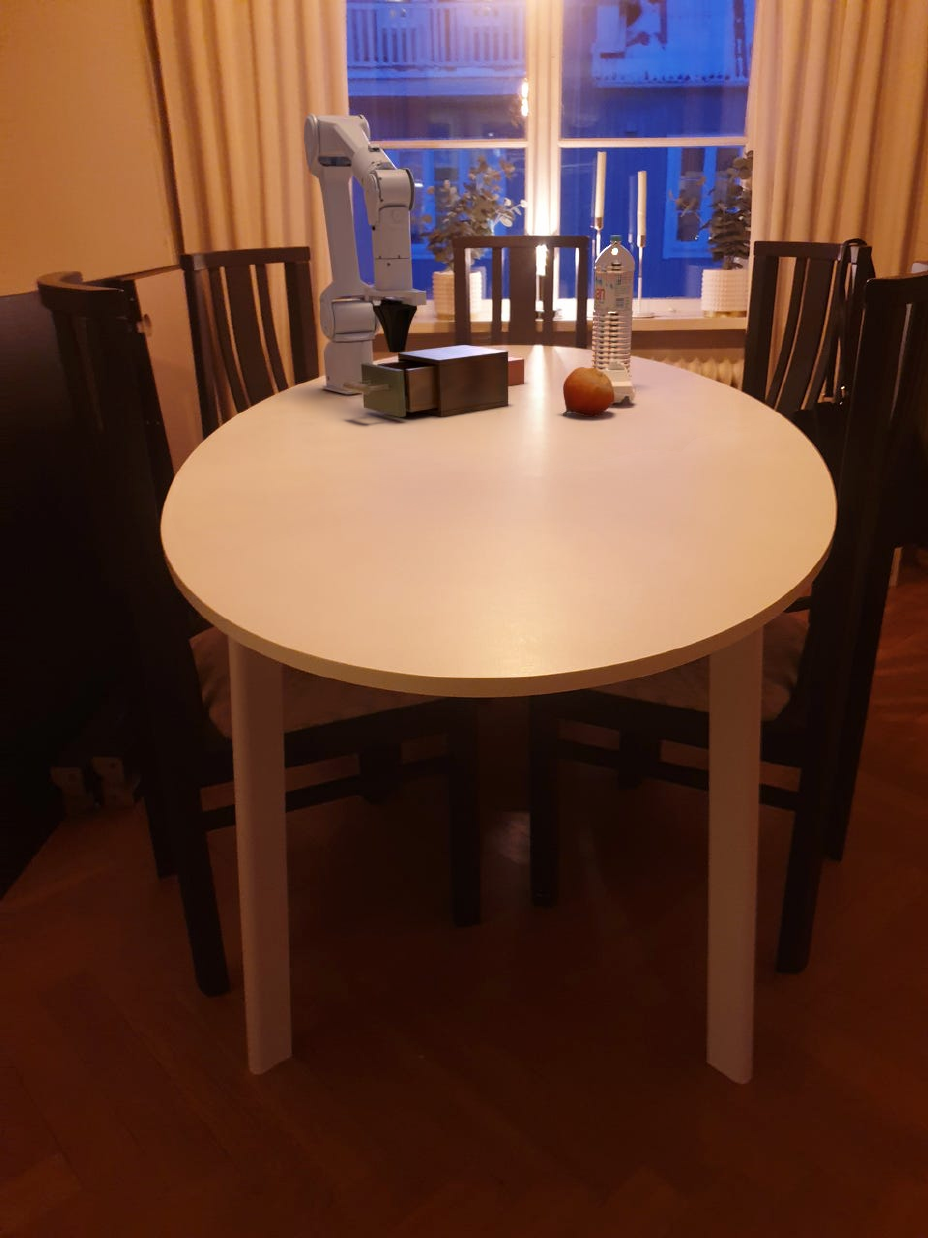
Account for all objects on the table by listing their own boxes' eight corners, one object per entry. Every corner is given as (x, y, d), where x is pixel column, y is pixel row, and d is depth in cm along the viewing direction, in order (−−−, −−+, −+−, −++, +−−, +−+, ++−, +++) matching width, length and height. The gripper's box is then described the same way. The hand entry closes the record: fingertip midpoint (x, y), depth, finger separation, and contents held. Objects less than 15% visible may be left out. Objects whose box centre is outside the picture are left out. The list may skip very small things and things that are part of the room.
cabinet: (441, 416, 140) (439, 359, 137) (400, 406, 149) (397, 352, 145) (508, 405, 148) (508, 351, 144) (465, 396, 156) (464, 344, 153)
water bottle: (590, 383, 165) (595, 235, 155) (628, 383, 164) (635, 234, 154) (590, 390, 159) (595, 236, 148) (629, 390, 158) (637, 235, 148)
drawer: (373, 421, 134) (370, 374, 131) (338, 411, 141) (334, 367, 139) (465, 406, 143) (464, 362, 140) (427, 397, 151) (426, 355, 148)
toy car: (630, 394, 154) (632, 353, 151) (636, 407, 143) (638, 363, 141) (594, 394, 155) (596, 353, 152) (598, 407, 144) (599, 364, 141)
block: (490, 383, 168) (490, 358, 166) (509, 380, 170) (509, 356, 168) (505, 386, 165) (505, 361, 163) (524, 383, 167) (524, 358, 165)
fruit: (561, 397, 144) (587, 354, 140) (601, 426, 143) (628, 383, 139) (543, 406, 138) (569, 362, 133) (584, 436, 137) (612, 392, 132)
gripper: (345, 258, 139) (351, 349, 144) (396, 260, 128) (400, 359, 133) (384, 256, 142) (388, 345, 148) (436, 258, 132) (439, 354, 137)
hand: (397, 351), depth 141 cm, fingers closed
